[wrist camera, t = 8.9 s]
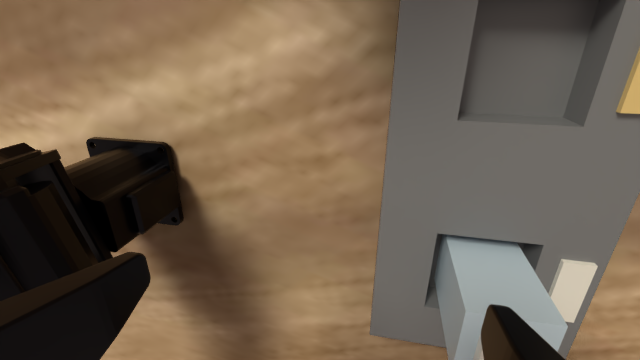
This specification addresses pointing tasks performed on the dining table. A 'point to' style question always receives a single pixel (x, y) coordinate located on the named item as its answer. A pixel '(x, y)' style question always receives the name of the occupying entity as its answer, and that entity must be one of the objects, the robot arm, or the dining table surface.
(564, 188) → the panel
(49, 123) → the dining table surface
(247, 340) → the dining table surface
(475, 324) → the plug
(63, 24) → the dining table surface
